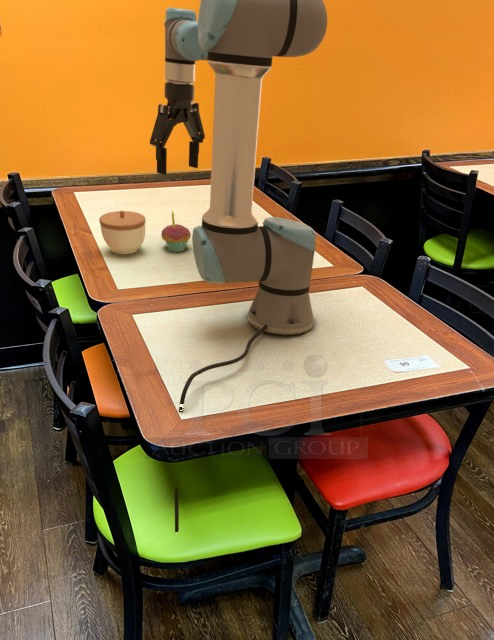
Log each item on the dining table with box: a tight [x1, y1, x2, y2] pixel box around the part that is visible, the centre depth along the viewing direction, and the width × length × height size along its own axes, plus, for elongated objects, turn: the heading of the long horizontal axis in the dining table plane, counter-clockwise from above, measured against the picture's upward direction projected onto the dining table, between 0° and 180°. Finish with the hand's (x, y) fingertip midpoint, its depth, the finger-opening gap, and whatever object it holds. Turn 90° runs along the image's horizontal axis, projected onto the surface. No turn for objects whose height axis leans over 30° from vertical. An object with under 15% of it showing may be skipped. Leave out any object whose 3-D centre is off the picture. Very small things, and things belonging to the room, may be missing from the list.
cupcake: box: [161, 210, 192, 253], centre depth 164 cm, size 9×8×12 cm
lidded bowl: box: [98, 209, 146, 255], centre depth 160 cm, size 13×13×11 cm
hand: (177, 170), depth 156 cm, fingers open, 13 cm apart
